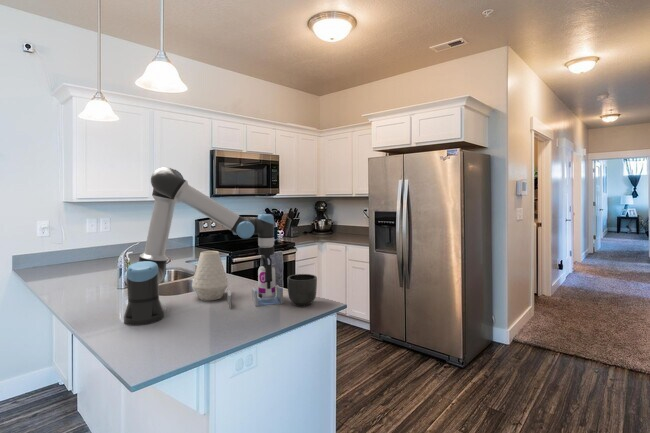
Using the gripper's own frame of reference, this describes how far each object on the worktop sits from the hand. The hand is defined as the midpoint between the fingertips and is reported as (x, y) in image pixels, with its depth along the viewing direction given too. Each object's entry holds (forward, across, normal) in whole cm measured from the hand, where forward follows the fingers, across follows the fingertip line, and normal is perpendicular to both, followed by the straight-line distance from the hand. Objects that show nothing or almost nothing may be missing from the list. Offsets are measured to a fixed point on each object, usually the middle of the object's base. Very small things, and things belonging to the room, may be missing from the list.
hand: (267, 292), depth 180 cm
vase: (+4, +16, +26) cm, 31 cm away
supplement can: (+2, 0, 0) cm, 2 cm away
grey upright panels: (+4, 0, +6) cm, 7 cm away
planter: (+4, -10, -15) cm, 19 cm away
